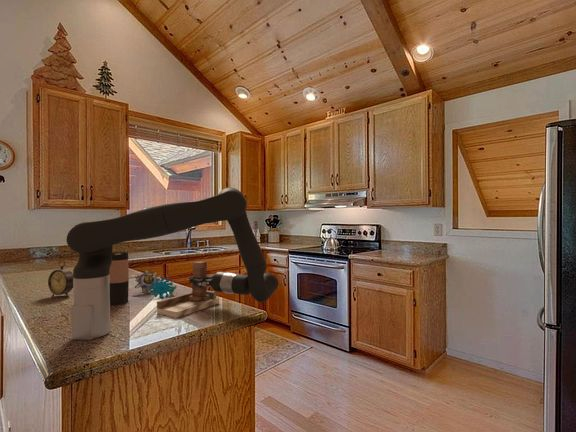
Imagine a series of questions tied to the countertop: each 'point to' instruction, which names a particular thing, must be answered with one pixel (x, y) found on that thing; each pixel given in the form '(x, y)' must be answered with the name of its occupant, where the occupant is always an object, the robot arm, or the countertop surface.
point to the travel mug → (119, 278)
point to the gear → (162, 288)
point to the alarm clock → (61, 281)
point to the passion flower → (146, 281)
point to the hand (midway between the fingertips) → (194, 278)
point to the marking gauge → (197, 292)
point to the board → (184, 304)
